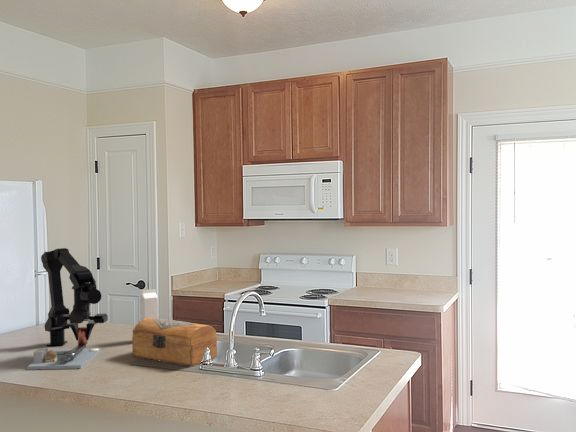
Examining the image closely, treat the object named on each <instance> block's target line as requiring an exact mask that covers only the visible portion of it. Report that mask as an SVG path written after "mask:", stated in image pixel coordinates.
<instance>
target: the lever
mask: <svg viewBox="0 0 576 432" xmlns="http://www.w3.org/2000/svg"><path fill="white" fill-rule="evenodd" d="M77 329H78V341H77V345H76V346H75V347H74V348H71V349H72V350H71V351H69V352H65V353H63V354H58V355H57V361H69V360H70V359H72V358H75V357H76V354H78V353H79V352H80V351H82V350H83V349H85V348H87V345H88V340H87V338H86V336H87V326H80V327H79V326H78V328H77Z"/></svg>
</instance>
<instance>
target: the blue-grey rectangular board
mask: <svg viewBox="0 0 576 432" xmlns="http://www.w3.org/2000/svg"><path fill="white" fill-rule="evenodd" d="M72 349H73V348H53V349H51V350H53V351H55V352H56V357H55V359H51V360H48V359H47V358H46V354H47V352H48V348H38V349H37V350H35V351H33V362H31V363H30V364H29V365H27V366H26V370H28V371H30V370H31V371H33V370H34V371H35V370H36V371H37V370H38V369H41V370H73V369H75V370H76V369H77V368H81V369H82V368H84V366H86V365H87V364H88V363H89V362H90V361H91V360H93V359H94V358H95V357H96V356H97V355H98V354H99V353H101V347H93V348H91V347H90V348H89V347H88V348H87V347H85V348H84V349H83V350H82V351H80V352H79V353H78V354H76V357H75V358H72V359H70V360H69V361H57V355H58V354H63V353H65V352H69V351H71V350H72ZM85 364H86V365H85ZM77 370H78V369H77Z"/></svg>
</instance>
